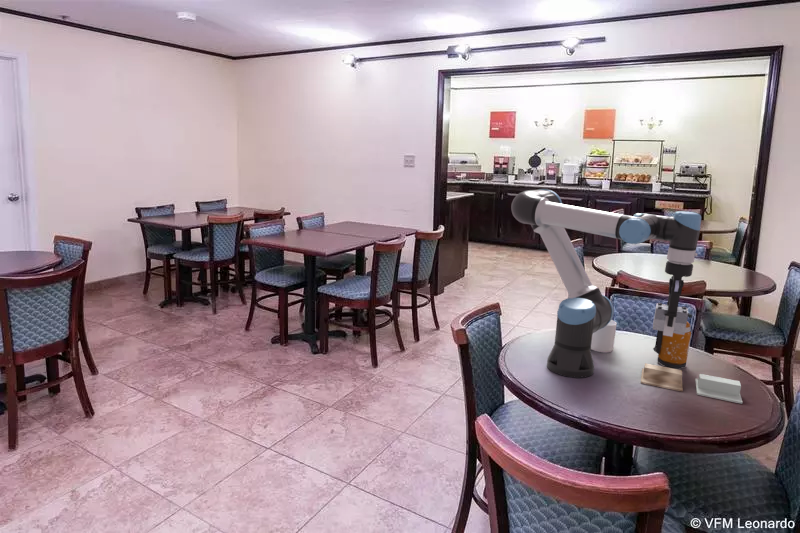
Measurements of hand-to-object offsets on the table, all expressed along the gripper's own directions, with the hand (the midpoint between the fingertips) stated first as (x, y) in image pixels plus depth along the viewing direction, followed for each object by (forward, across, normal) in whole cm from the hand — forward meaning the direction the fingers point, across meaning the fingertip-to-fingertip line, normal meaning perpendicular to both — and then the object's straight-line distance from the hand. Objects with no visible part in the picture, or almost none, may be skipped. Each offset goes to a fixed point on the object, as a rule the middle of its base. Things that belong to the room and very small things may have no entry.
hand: (667, 332), depth 172 cm
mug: (+17, +21, +19) cm, 33 cm away
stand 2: (+16, 0, -17) cm, 23 cm away
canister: (+17, +16, -3) cm, 23 cm away
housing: (-1, 0, 0) cm, 1 cm away
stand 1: (+16, 0, -1) cm, 16 cm away
